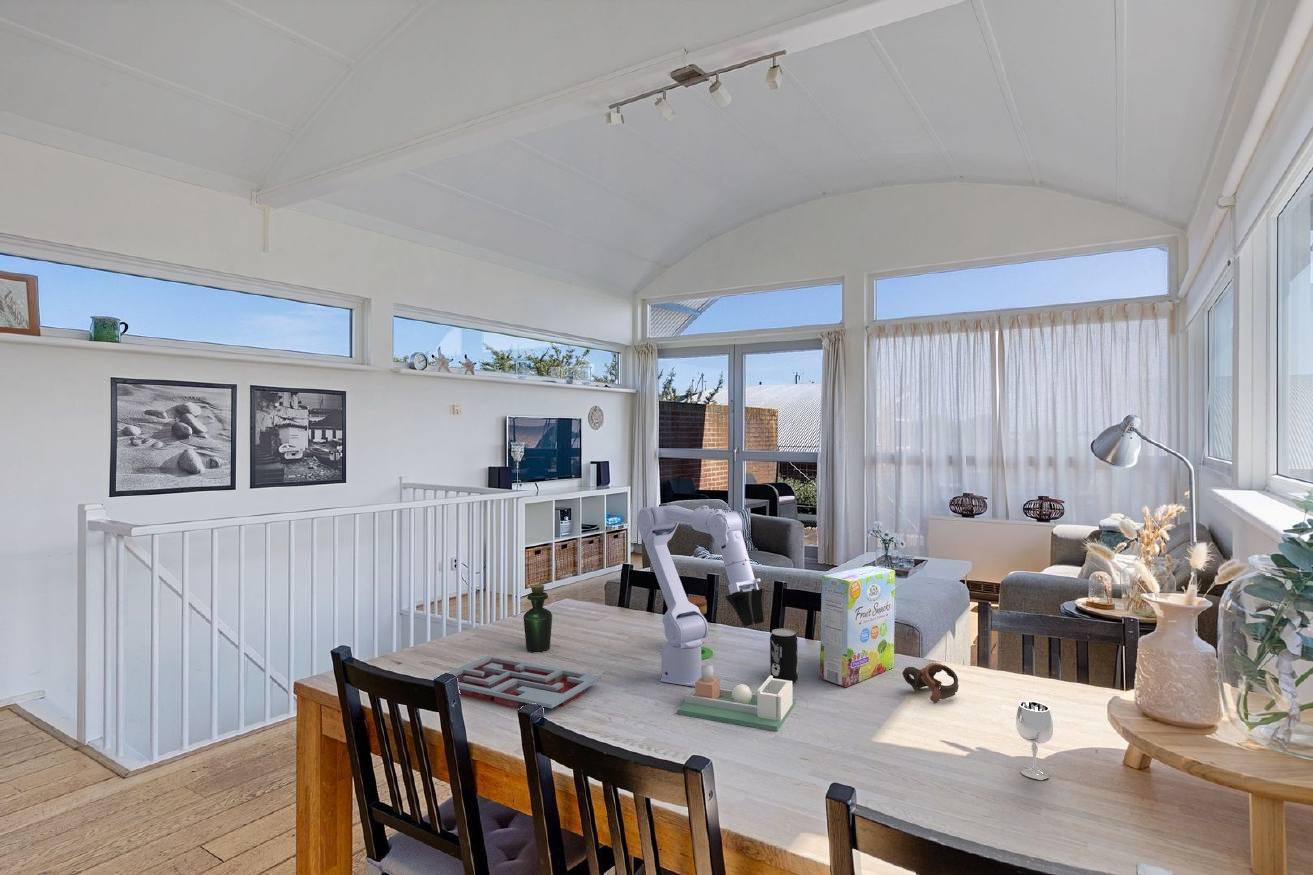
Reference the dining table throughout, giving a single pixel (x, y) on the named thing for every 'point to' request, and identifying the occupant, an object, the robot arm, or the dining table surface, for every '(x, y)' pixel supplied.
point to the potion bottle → (537, 621)
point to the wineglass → (1034, 727)
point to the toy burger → (702, 606)
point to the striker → (707, 683)
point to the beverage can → (784, 655)
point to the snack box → (857, 624)
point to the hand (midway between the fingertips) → (754, 624)
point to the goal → (774, 699)
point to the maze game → (521, 682)
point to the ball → (742, 694)
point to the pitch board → (729, 710)
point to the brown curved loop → (932, 680)
